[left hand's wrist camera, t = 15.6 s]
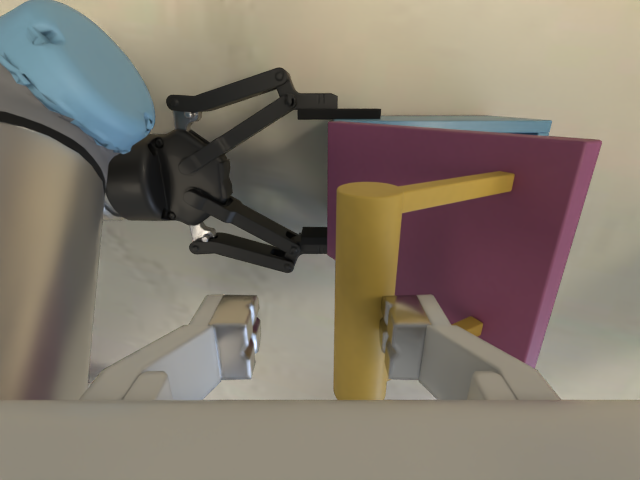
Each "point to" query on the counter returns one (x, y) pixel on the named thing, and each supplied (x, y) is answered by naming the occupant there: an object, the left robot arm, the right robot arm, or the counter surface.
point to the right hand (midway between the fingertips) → (374, 179)
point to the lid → (448, 234)
